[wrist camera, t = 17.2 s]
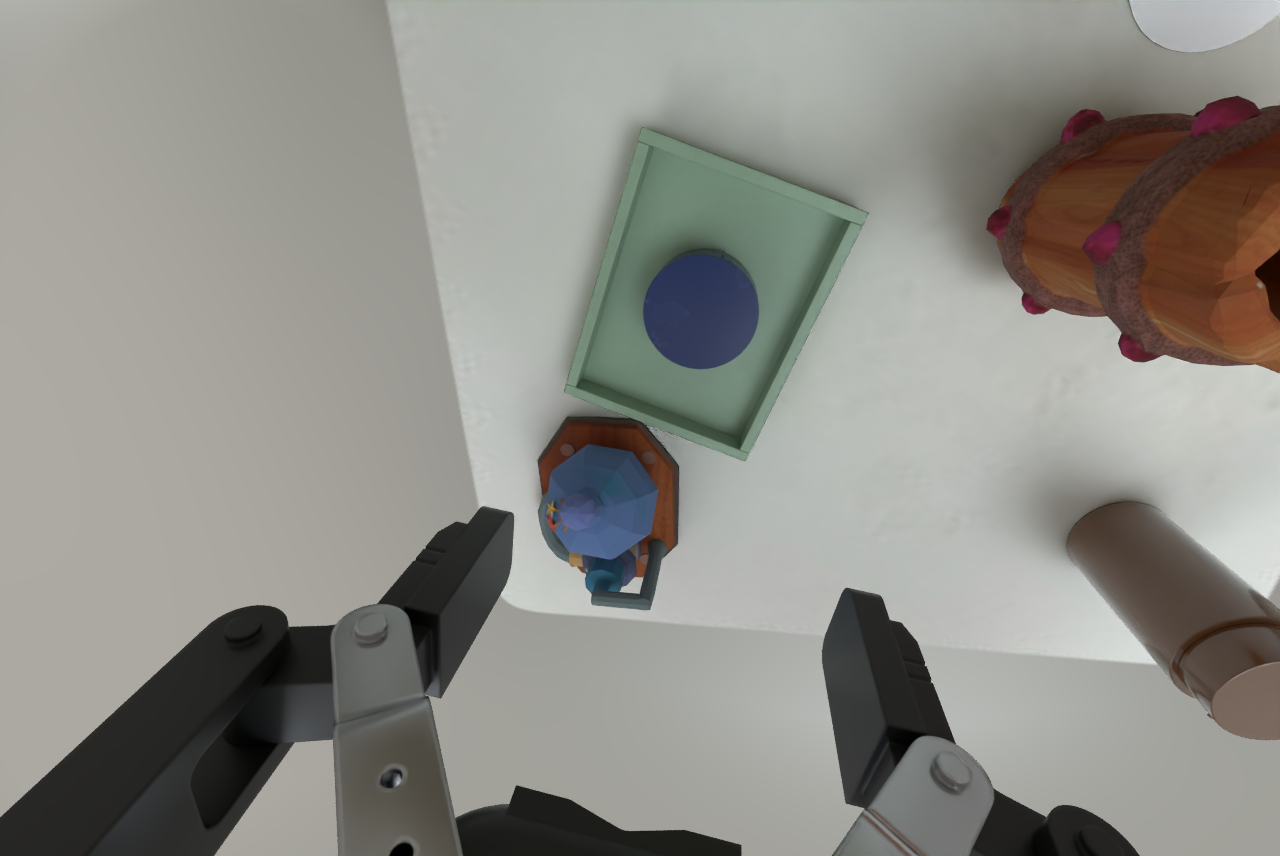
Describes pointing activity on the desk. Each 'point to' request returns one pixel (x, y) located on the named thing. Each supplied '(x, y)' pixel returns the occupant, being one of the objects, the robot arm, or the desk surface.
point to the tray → (722, 220)
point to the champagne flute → (1201, 21)
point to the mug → (1157, 231)
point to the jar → (1186, 613)
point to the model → (610, 505)
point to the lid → (701, 309)
